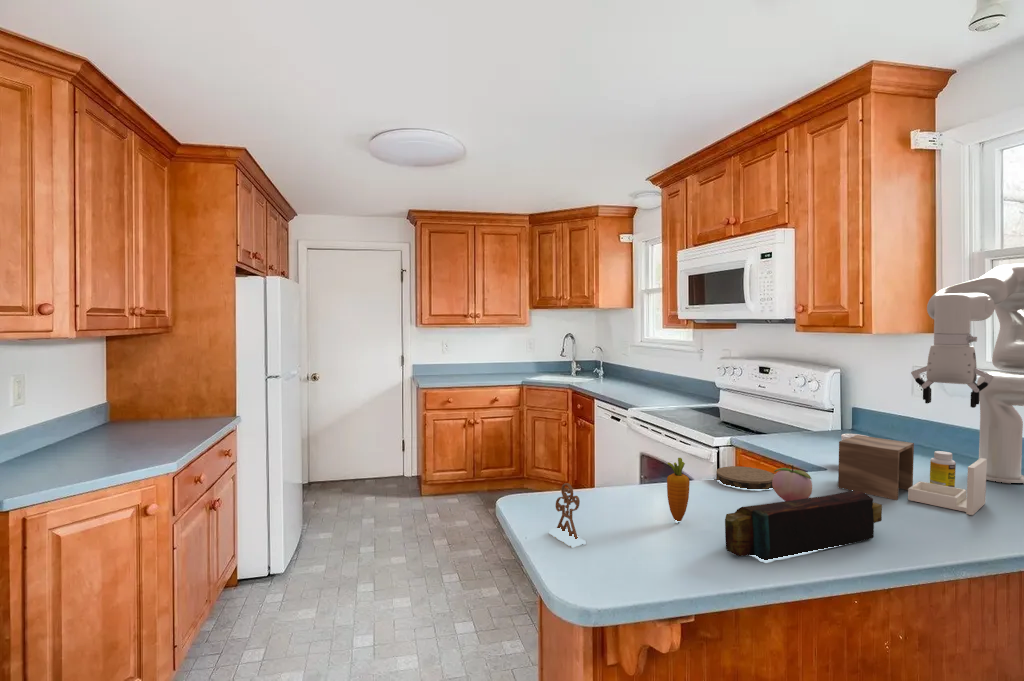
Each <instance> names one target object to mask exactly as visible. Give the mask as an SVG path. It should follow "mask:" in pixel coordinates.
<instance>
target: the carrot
mask: <svg viewBox="0 0 1024 681" xmlns="http://www.w3.org/2000/svg"><path fill="white" fill-rule="evenodd" d="M685 464H686V463H685V462H684V461H683V458H682V457H678V458H677V462H673V463H671V462H667V465H668V466H669V467H670V468H671V469H672V471H673V473H671V474H669V475H667V478H666V492H667V493H666V494H667V502H668V507H669V511H670V514H671V516H672V518H673V520H674V519H675V520H677V521H681V522H682V519H683V518H684V516H685V514H686V511H687V508H688V502H689V498H690V496H689V495H690V483H691V482H690V478H689V477H688V476H687V475H685V474H684V473H682V472H683V469H684V467H685ZM675 520H674V521H675Z"/></svg>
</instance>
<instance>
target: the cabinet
mask: <svg viewBox="0 0 1024 681" xmlns="http://www.w3.org/2000/svg"><path fill="white" fill-rule="evenodd" d="M860 435H861V434H860ZM860 435H856V436H853V437H850V438H848V439H845V440H842V439H841V440H840V441H838V470H837V471H838V472H837V473H838V476H837V478H838V479H837V488H838V487H839V488H838V489H842V488H844V489H843V490H846V489H848V490H847V491H851V490H853V491H860V492H863V493H866V494H867V495H869V496H870V495H871V496H875V497H880V498H885V499H890V500H894V501H895V500H896V501H898V500H899V489H900V490H904V491H905V490H906V491H908V488H910V487H911V486H913V485H914V456H915V455H914V454H915V453H914V452H915V451H914V449H915V442H911V441H910V442H909V441H902V440H901V441H900V440H894V439H889V438H887V439H886V438H881V437H874V436H869V437H867V436H868V435H865V436H860Z"/></svg>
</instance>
